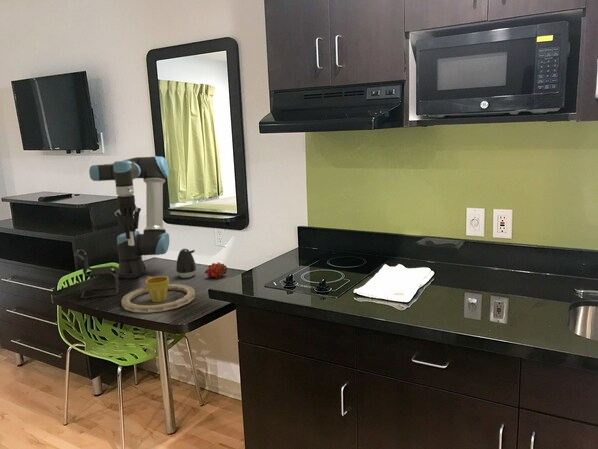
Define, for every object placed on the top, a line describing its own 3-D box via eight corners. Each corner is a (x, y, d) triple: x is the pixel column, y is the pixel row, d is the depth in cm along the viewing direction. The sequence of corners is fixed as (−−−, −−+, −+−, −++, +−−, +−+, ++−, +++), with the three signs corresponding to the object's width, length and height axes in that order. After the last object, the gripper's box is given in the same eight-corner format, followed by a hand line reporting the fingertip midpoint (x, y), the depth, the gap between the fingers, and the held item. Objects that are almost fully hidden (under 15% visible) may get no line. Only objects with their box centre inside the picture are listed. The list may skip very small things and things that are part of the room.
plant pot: (146, 298, 228) (143, 278, 226) (168, 294, 232) (166, 274, 230) (148, 305, 218) (146, 284, 216) (172, 301, 222) (170, 280, 220)
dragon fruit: (229, 278, 257) (207, 285, 253) (225, 266, 262) (203, 272, 259) (228, 269, 250) (205, 275, 247) (224, 256, 256) (201, 263, 252)
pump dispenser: (194, 279, 253) (192, 250, 250) (174, 279, 254) (172, 251, 251) (199, 273, 263) (196, 246, 260) (179, 274, 264) (177, 246, 261)
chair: (82, 291, 241) (76, 248, 236) (119, 287, 246) (114, 244, 241) (79, 300, 229) (73, 255, 224) (118, 295, 234) (113, 250, 229)
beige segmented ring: (115, 297, 230) (113, 283, 228) (181, 283, 246) (179, 270, 245) (132, 318, 203) (130, 302, 202) (205, 301, 220) (203, 286, 218)
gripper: (117, 197, 215) (123, 249, 220) (142, 193, 225) (148, 243, 230) (108, 196, 220) (114, 247, 225) (133, 192, 230) (138, 241, 235)
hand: (131, 245), depth 228 cm, fingers closed
